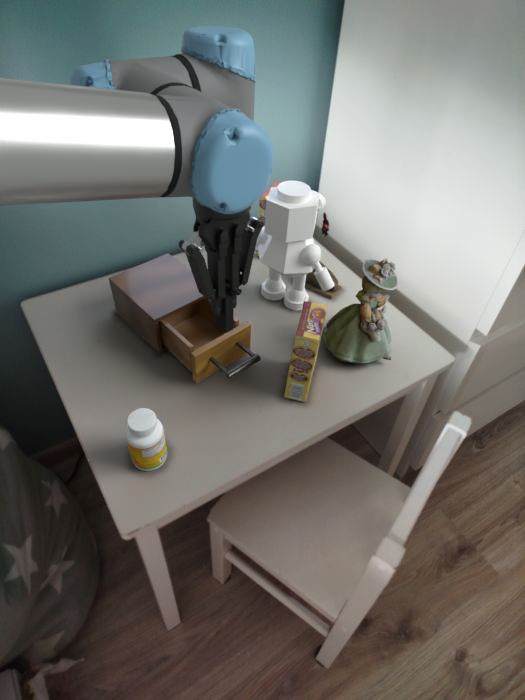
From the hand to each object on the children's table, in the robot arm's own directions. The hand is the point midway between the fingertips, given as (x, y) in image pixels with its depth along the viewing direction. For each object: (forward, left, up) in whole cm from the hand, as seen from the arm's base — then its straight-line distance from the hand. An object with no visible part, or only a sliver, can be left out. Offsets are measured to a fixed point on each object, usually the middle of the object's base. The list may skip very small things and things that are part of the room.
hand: (224, 326), depth 73 cm
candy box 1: (+29, +33, -14) cm, 46 cm away
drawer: (0, +7, -13) cm, 14 cm away
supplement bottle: (-17, -8, -14) cm, 23 cm away
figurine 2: (+30, +18, -14) cm, 38 cm away
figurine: (+26, -4, -14) cm, 30 cm away
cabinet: (-3, +21, -14) cm, 25 cm away
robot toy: (+22, +16, -14) cm, 30 cm away
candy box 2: (+12, -6, -14) cm, 19 cm away
